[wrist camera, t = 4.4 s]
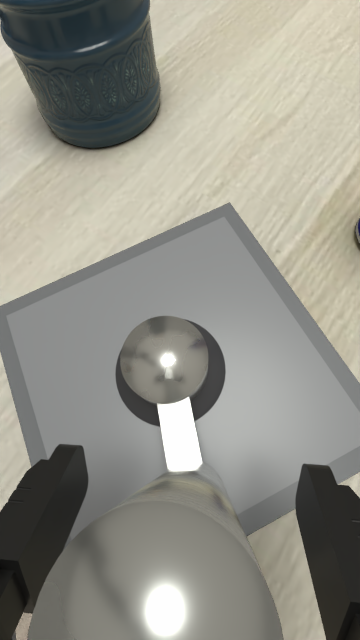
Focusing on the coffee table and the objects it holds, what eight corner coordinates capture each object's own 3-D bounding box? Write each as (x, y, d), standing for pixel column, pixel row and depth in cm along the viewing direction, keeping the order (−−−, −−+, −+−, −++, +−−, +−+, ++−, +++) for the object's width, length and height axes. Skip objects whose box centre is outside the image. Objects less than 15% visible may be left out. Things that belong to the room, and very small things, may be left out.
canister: (79, 171, 32) (-56, -121, 15) (28, 104, 36) (-119, -178, 20) (185, 113, 34) (166, -202, 17) (124, 56, 38) (63, -237, 22)
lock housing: (25, 336, 25) (-19, 310, 20) (225, 243, 27) (230, 199, 22) (105, 595, 19) (69, 649, 14) (363, 450, 21) (412, 452, 16)
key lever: (126, 339, 19) (-5, 168, 7) (198, 324, 19) (186, 128, 7) (154, 542, 15) (-31, 894, 3) (245, 523, 15) (386, 806, 3)
